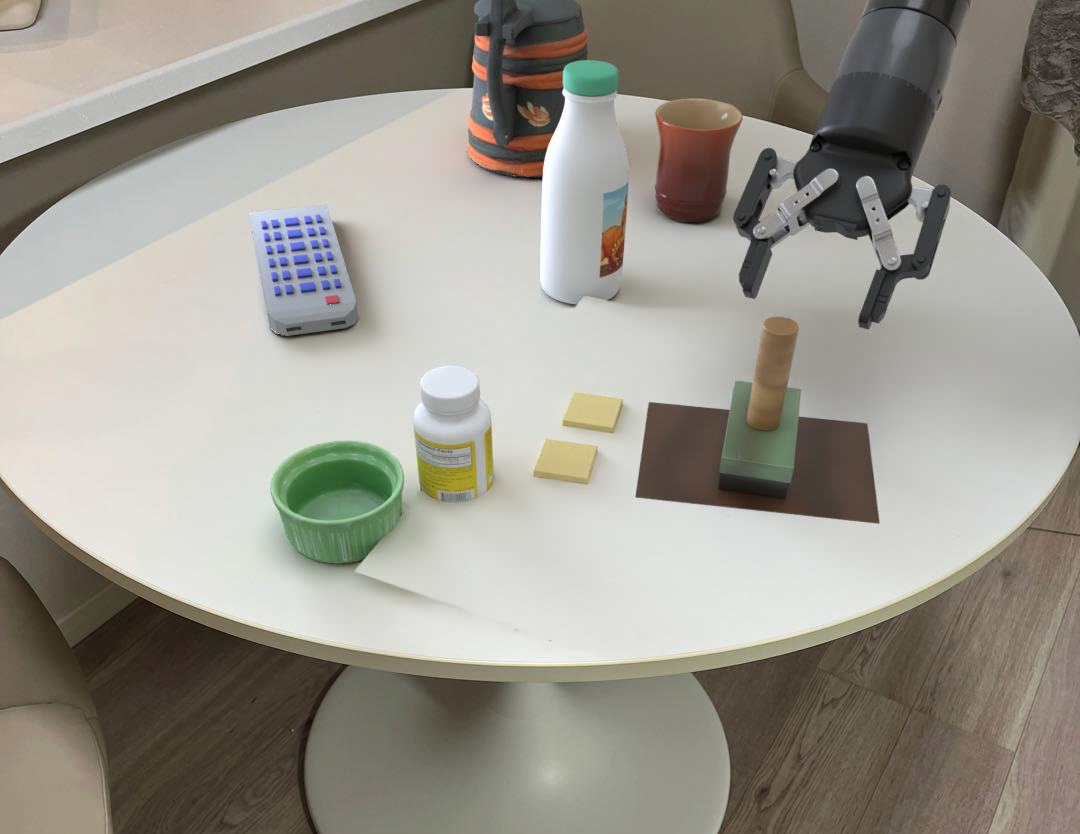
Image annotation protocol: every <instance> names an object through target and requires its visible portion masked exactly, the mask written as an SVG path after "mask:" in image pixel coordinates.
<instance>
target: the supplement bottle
mask: <svg viewBox="0 0 1080 834" xmlns="http://www.w3.org/2000/svg"><path fill="white" fill-rule="evenodd" d="M419 387H420V400H421V401H420V403H419V404H418V405H417V406H416V407H415V409H414V412H413V418H412V420H413V423H412V424H413V434H414V444H415V452H416V453H415V454H416V463H417V472H418V473H417V474H418V481H419V483H418V484H419V490H420V492H424V493H425V494H426V495H427V496H429V497H431V498H432V499H435V500H438V501H441V502H447V503H463V502H468V501H472V500H475V499H477V498H479V497H481V496H483V495H484V494H485V493H487V492H489V490H490V489H491V488H492V486H493V484H494V480H495V479H494V478H495V476H494V475H495V474H494V453H493V427H492V425H493V423H492V413H491V410H490V407H489V406H488V404H487V403H486V401H485V400H483V399H482V398H481V387H480V379H479V376H478V375H477V373H476V372H474V371H473V370H472V369H470V368H468V367H464V366H461V365H442V366H437V367H435V368H432V369H430V370H428V371H427V372H426V373H425V374H423V376H422V377H421V379H420V382H419Z"/></svg>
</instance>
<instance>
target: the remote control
mask: <svg viewBox="0 0 1080 834" xmlns="http://www.w3.org/2000/svg"><path fill="white" fill-rule="evenodd" d="M248 214H249V219H250V224H251V230H252V231H251V232H252V237H253V242H254V248H255V254H256V259H257V265H258V270H259V276H260V282H261V288H262V293H263V297H264V302H265V307H266V312H267V313H266V314H267V320H268V324H269V328H270V327H271V328H272V329H273V330H274V331H276V333H279V334H281V335H280V336H284V335H285V337H290V336H295V335H304V334H311V333H319V332H327V331H334V330H335V331H336V330H342V329H347V328H349V327H352V326H354V325H356V323H357V321H358V320H359V310H358V304H357V299H356V295H355V292H354V289H353V285H352V283H351V280H350V276H349V273H348V270H347V266H346V263H345V259H344V256H343V253H342V249H341V247H340V244H339V240H338V237H337V234H336V230H335V227H334V223H333V220H332V217H331V213H330V209H329V207H328V205H327V203H325V204H317V205H308V206H299V207H298V206H297V207H291V208H289V207H288V208H281V209H280V208H279V209H271V210H263V211H254V212H252V211H251V212H249V213H248ZM330 304H331V305H330ZM276 333H275V334H276ZM282 334H283V335H282Z"/></svg>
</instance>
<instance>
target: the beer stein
mask: <svg viewBox="0 0 1080 834" xmlns="http://www.w3.org/2000/svg"><path fill="white" fill-rule="evenodd" d="M473 11H474V14H475V15H476V16H477V17H478V21H476V22H475V23H474V45H473V55H472V64H471V69H472V72H473V84H472V85H473V86H472V100H471V109H470V111H469V113H468V119H467V126H468V128H467V134H468V139H467V144H468V145H467V151H466V152H467V154H468V156H469V158H470V159H471V158H472V160H473V161H475V162H476V163H477V164H479V165H480V166H481V167H483V168H482V169H484V168H485V169H484V170H486V169H488V170H487V171H489V170H490V171H489V172H491V171H493V172H492V173H495V172H498V173H497V174H500V173H502V174H501V175H504V174H506V175H505V176H509V175H511V176H510V177H512V176H513V175H515V176H513V177H517V176H516V175H519V176H518V177H521V176H522V177H524V176H525V177H524V178H529V177H535V178H536V177H537V178H543V168H544V161H545V156H546V152H547V149H548V146H549V143H550V141H551V139H552V137H553V135H554V133H555V131H556V128H557V126H558V124H559V122H560V119H561V116H562V113H563V109H564V105H565V96H564V95H563V93H562V92H563V89H564V87H563V71H564V68H565V66H566V65H568V64H569V63H572V62H576V61H583V60H590V58H589V52H588V29H587V26H586V25H585V24H584V17H583V11H582V7H581V5H580V3H578V2H577V1H576V0H478V1H477V2H475V4H474V7H473ZM472 160H471V161H472ZM473 161H472V162H473ZM477 164H476V165H477ZM480 166H479V167H480ZM481 167H480V168H481Z"/></svg>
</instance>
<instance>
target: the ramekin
mask: <svg viewBox="0 0 1080 834" xmlns="http://www.w3.org/2000/svg"><path fill="white" fill-rule="evenodd" d="M404 485H405V473H404V469H403V466H402V464H401V463H400V461H399V460H398V459H397V457H396V456H395V455H394V454H393V453H391V452H390V451H388V450H387V449H385V448H383V447H381V446H379V445H377V444H373V443H370V442H367V441H360V440H351V439H343V440H341V439H340V440H331V441H325V442H320V443H316V444H313V445H310V446H306V447H304V448H302V449H300V450H298V451H296V452H294V453H293V454H291V455H290V456H288V457H287V458H285V459H284V460H283V461H282V462H281V463H280V464H279V465H278V467H277V468H276V469H275V470H274V473H273V474H272V477H271V480H270V484H269V486H270V487H269V490H270V496H271V499H272V501H273V504H274V506H275V507H276V509H277V510H278V513H279V516H280V519H281V522H282V526H283V530H284V532H285V534H286V537H287V539H288V541H289V543H290V544H291V546H292V547H293V548H294V549H295V550H296V551H297V552H298V553H300V554H302V555H303V556H305V557H307V558H309V559H311V560H313V561H317V562H321V563H327V564H349V563H354V562H359V561H362V560H365V559H366V558H367V556H368V555H370V553H371V552H372V551H373V550H374V548H375V547H376V546H377V545H378V543H380V541H381V540H382V539H383V538H384V537H386V536H387V535H389V533H391V532H392V531H393V529H394V528H395V527H396V526H397V524H398V522H399V521H400V518H401V517H402V514H403V506H402V505H403V503H402V501H403V491H404Z"/></svg>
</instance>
